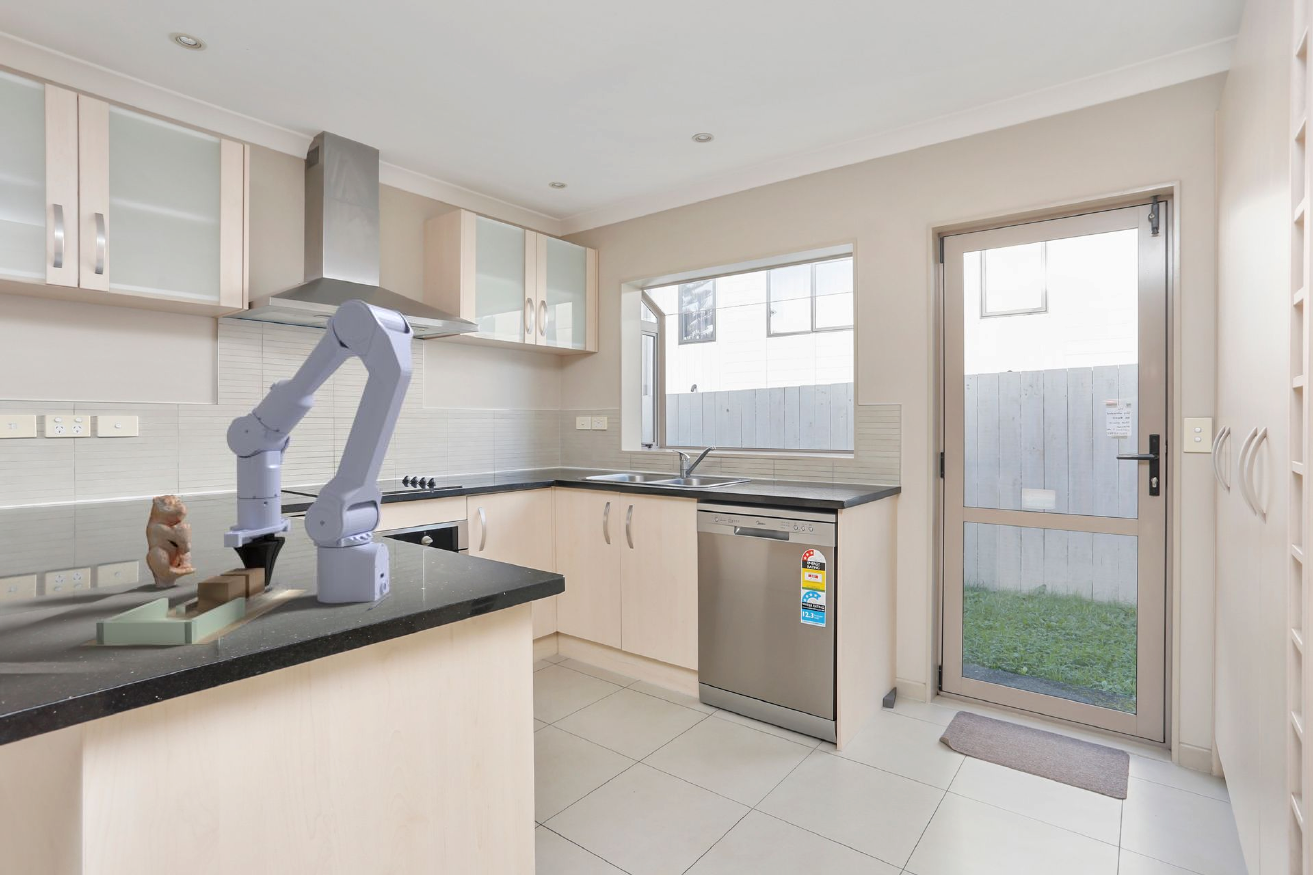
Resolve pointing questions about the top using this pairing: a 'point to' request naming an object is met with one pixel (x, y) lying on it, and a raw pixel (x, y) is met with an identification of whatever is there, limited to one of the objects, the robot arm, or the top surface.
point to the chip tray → (165, 624)
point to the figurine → (168, 541)
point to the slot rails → (249, 602)
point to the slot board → (248, 617)
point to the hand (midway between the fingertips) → (260, 586)
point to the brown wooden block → (250, 579)
